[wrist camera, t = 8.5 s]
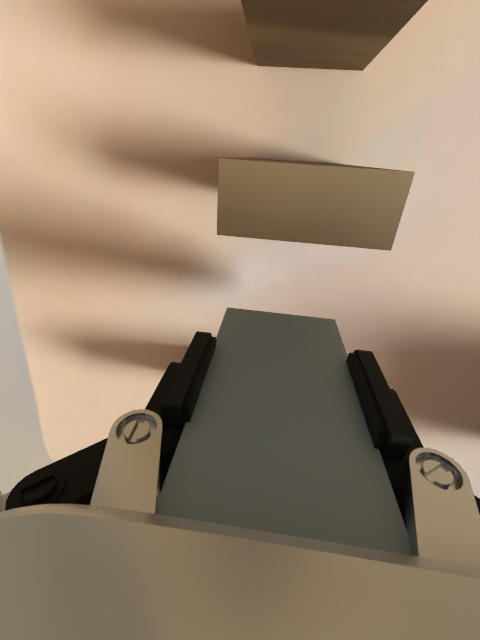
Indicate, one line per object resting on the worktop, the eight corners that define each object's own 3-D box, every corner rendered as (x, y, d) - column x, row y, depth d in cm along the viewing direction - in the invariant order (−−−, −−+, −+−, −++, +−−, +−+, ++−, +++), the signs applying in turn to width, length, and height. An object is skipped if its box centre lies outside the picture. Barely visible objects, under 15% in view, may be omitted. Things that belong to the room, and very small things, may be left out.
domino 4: (251, 158, 17) (218, 157, 8) (343, 164, 16) (414, 171, 8) (249, 196, 18) (216, 234, 9) (335, 203, 17) (390, 250, 9)
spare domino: (227, 307, 14) (141, 544, 5) (334, 319, 14) (428, 593, 5) (225, 343, 15) (150, 593, 6) (325, 355, 15) (391, 638, 6)
